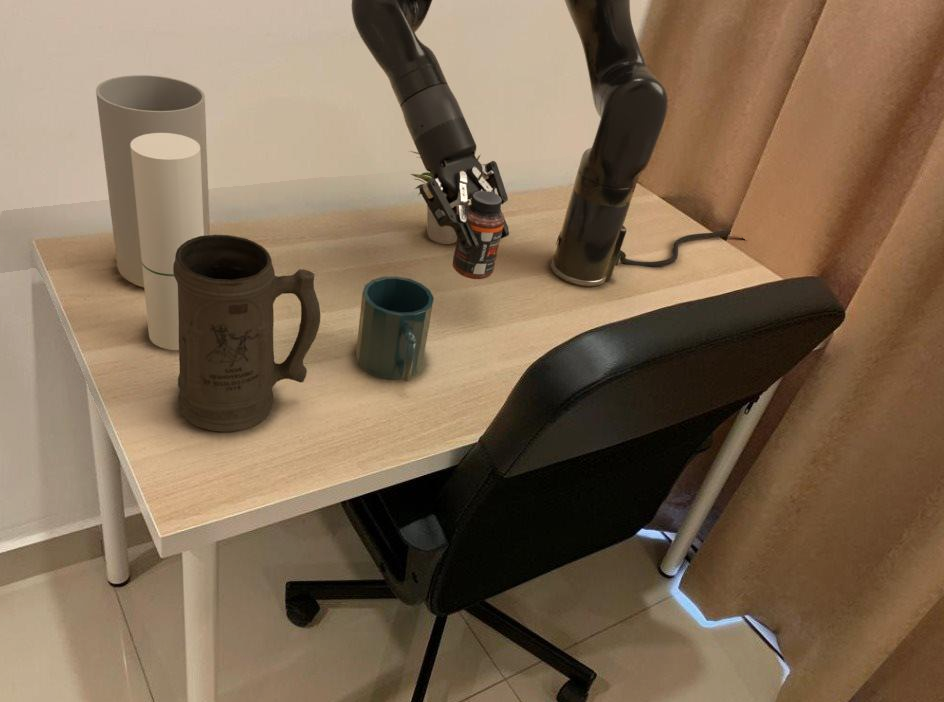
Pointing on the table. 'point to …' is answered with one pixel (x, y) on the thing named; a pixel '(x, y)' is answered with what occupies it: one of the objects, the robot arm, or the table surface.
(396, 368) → the mug
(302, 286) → the beer stein
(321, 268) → the table surface
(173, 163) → the cylindrical container
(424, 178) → the house plant
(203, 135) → the cylinder vase
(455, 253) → the supplement bottle
